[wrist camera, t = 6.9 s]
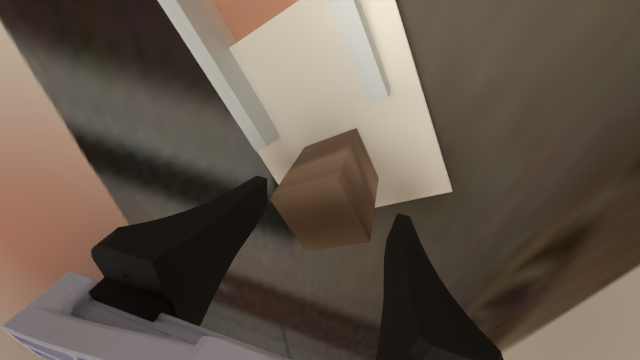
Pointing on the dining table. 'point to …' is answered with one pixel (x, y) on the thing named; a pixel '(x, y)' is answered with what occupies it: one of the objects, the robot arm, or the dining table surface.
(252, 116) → the channel
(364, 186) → the walnut block
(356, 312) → the dining table surface
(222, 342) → the robot arm
